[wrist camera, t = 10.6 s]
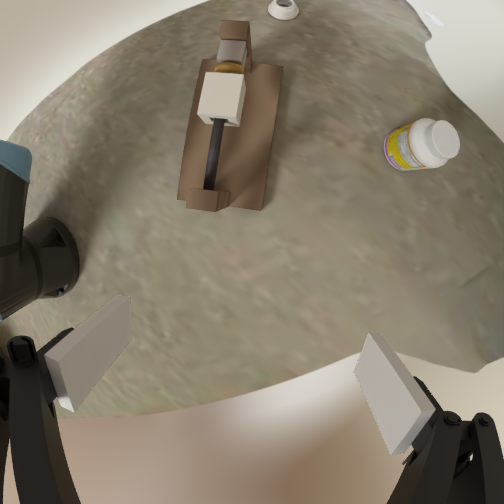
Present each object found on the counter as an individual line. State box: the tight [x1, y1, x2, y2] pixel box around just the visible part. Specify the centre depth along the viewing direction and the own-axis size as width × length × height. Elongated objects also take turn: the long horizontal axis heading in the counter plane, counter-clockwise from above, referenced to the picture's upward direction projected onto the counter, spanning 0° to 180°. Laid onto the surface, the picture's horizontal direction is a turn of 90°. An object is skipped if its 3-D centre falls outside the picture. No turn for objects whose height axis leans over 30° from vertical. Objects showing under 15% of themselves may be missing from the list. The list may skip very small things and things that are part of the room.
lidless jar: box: [268, 0, 299, 20], centre depth 30 cm, size 5×3×5 cm
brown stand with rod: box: [177, 20, 283, 212], centre depth 30 cm, size 12×22×13 cm, turn 172°
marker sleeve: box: [197, 72, 246, 127], centre depth 26 cm, size 4×5×4 cm
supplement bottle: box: [384, 118, 460, 171], centre depth 29 cm, size 7×7×13 cm
